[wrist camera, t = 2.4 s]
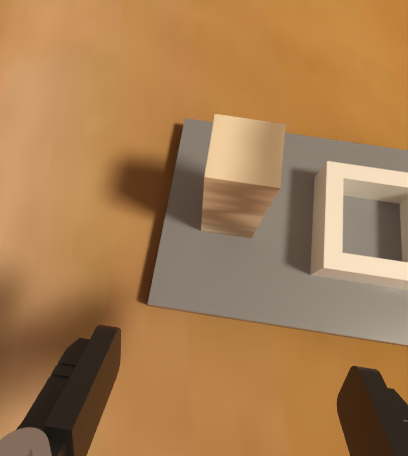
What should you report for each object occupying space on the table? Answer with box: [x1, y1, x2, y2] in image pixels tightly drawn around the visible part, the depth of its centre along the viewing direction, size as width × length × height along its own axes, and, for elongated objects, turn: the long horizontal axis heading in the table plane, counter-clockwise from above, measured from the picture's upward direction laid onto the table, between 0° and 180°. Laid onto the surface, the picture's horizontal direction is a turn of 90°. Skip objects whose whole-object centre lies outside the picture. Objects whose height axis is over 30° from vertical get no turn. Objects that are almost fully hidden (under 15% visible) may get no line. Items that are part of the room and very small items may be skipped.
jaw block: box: [201, 114, 285, 238], centre depth 24 cm, size 4×4×10 cm
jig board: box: [147, 118, 408, 347], centre depth 28 cm, size 25×18×4 cm
